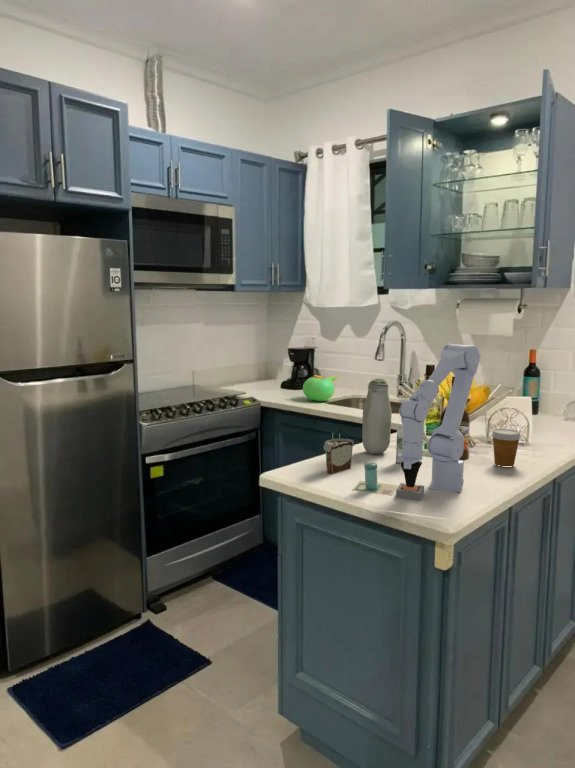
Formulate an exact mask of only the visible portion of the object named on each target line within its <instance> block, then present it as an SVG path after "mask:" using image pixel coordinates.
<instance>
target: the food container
mask: <svg viewBox="0 0 575 768" xmlns="http://www.w3.org/2000/svg"><path fill="white" fill-rule="evenodd" d="M353 447H355V443H354V440H353V439H350V438H349V439H348V438H332V439H328V440H326V441H325V442H324V445H323V450H324V452H325V460H326V461H325V462H326V473H327V474H329V475H333V474H337V473H341V472H343V471H346V470H350V469H352V458H353Z"/></svg>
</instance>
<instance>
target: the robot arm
mask: <svg viewBox="0 0 575 768" xmlns="http://www.w3.org/2000/svg"><path fill="white" fill-rule="evenodd" d="M480 360H481V354H480V351H479V348H478V347H477V346H476V345H465V344H455V343H454V344H453V343H446V344H445V345H444V347H443V349H442V350H441V351H440V360H439V362H438V364H437V365H436V366H435V368H434V370H433V371H432V373H431V375H430V377H429V378H428V379H423V380H422V381H421V382H420V383H419V385H418V387H417V388H416V389H415V391H414V392H413V393H412V395H411V396H410V397H409V398H407V399H405V400H404V401H402V402H401V404H400V407H399V408H398V414H399V416H400V419H401V420H400V422H402V424H403V436H402V454H398V458H401V459H402V460H403V462H401V464H400V467H401V469H402V471H403V475H404V480H405V484H406V486H407V487H414V486H415V485H416V482H417V477H418V474H419V470H420V468H421V466H422V464H423V462H422V461H423V438H424V437H423V435H424V421H425V420H426V419H427V417H428V415H429V411H430V409H431V404H432V403H433V401H434V400H435V399H436V397H437V396H438V394H439V393H440V387H439V386H440V385H441V384H442V382H444V380H445V379H446V378H447V377H448V376H449V375H450V373H451V372H452V373H453V375H454V380H453V384H452V387H451V389H450V394H449V398H448V400H447V405H446V408H445V412H444V415H443V419H442V422H441V425H440V426H438V427H436V428H434V429H433V431H432V434H431V436H430V437H429V439H428V441H427V445H426V449H427V451H428V453H429V454H430V457H431V458H432V460H431V461H432V465H431V481H430V483H429V485H428V489H432V490H440V491H449V492H456V493H461V492H462V489H463V487H464V486H463V485H464V482H465V481H464V468H465V467H464V466H465V465H464V464H465V462H464V460H462V459H461V457H462V456H463V453H464V451H465V450H464V449H465V447H464V446H465V445H464V443H465V440H466V439H465V437H464V435H463V434H462V432H461V431H460V427H461V423H462V419H463V417H464V414H465V413H464V412H465V409H466V406H467V403H468V399H469V395H470V393H471V388H472V385H473V381H474V378H475V375H476V374H477V370H478V367H479V363H480Z"/></svg>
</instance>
